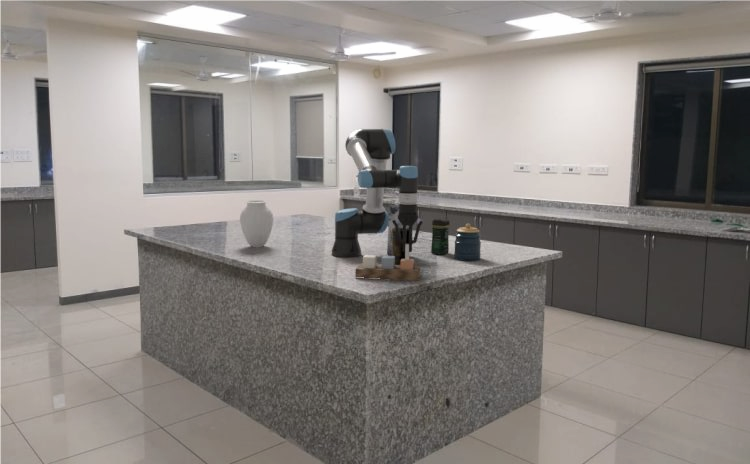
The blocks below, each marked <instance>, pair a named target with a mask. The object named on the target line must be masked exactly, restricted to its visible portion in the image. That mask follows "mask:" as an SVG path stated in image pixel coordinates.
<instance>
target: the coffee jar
mask: <svg viewBox="0 0 750 464" xmlns="http://www.w3.org/2000/svg"><path fill="white" fill-rule="evenodd" d="M431 231H432V233H431V235H432V237H431V249H430V252H431V254H433V255H446V254H449V252H450V251H449V248H450V247H449V245H450V244H449V238H450V237H449V236H450V235H449V234H450V233H449V231H450V219H448V218H446V217H438V218H434V219H433V220H432V222H431Z"/></svg>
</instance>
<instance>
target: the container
mask: <svg viewBox="0 0 750 464" xmlns="http://www.w3.org/2000/svg"><path fill="white" fill-rule="evenodd" d="M399 230H400V234H401V239H402V240H403V228H399ZM392 232H393V233H392V234H393V237H392V256H395V265H401V259H405V252H403V244H402V243H399V242H398V238H397V233H396V229H395V228H393V229H392ZM406 244H409V229H408V228H406Z"/></svg>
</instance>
